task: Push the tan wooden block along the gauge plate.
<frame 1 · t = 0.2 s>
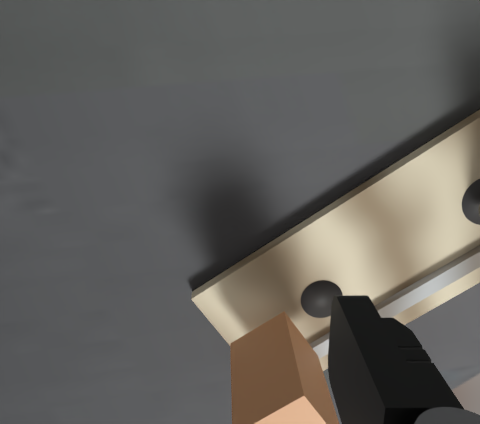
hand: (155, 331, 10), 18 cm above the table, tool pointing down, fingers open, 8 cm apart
gauge plate: (382, 253, 30), on the table
tan wooden block: (279, 378, 26), point 6 cm above the table, slide at 1.0 cm
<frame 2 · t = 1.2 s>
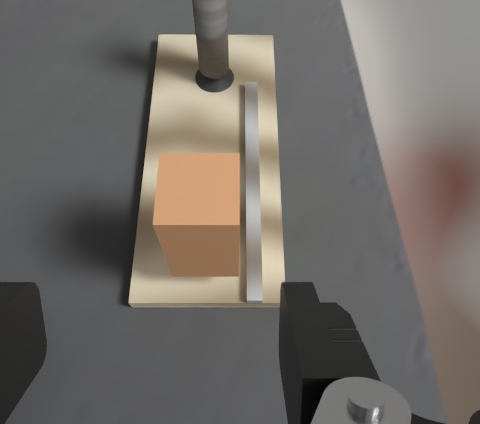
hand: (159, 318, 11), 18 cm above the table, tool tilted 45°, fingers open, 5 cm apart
gauge plate: (212, 154, 35), on the table
tan wooden block: (203, 227, 26), point 6 cm above the table, slide at 1.0 cm
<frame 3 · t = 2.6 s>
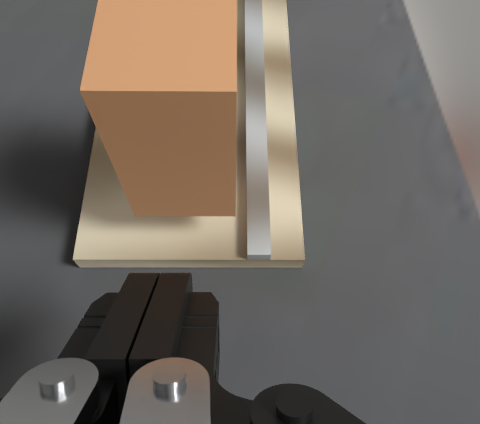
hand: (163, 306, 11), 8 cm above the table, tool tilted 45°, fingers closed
gauge plate: (200, 68, 26), on the table
tan wooden block: (181, 134, 16), point 6 cm above the table, slide at 1.0 cm
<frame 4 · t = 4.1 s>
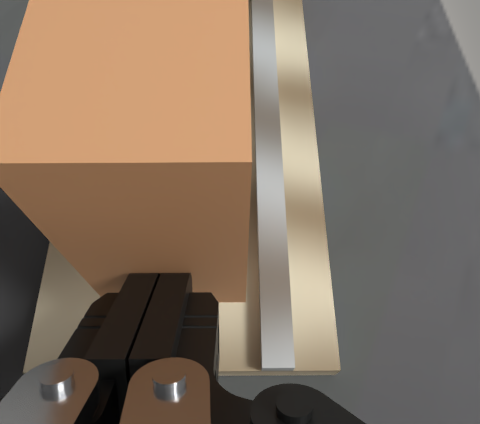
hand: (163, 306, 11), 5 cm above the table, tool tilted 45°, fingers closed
gauge plate: (198, 99, 21), on the table
tan wooden block: (167, 195, 12), point 6 cm above the table, slide at 1.6 cm, touching gripper
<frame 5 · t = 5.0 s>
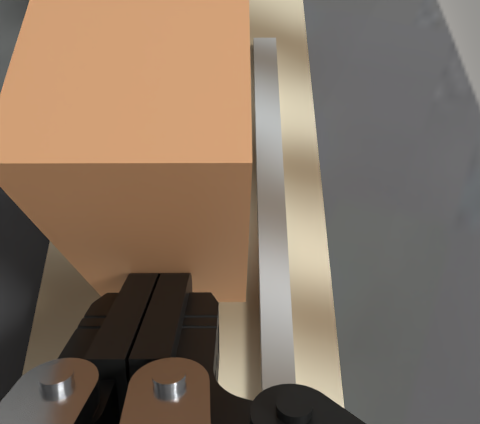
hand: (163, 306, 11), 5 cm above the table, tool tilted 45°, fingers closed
gauge plate: (195, 170, 19), on the table
tan wooden block: (168, 195, 12), point 6 cm above the table, slide at 5.5 cm, touching gripper
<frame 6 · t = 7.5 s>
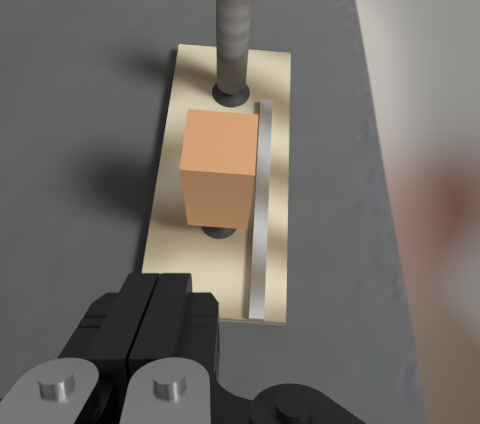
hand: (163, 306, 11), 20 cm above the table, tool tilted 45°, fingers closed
gauge plate: (224, 169, 36), on the table
tan wooden block: (220, 181, 29), point 6 cm above the table, slide at 5.6 cm
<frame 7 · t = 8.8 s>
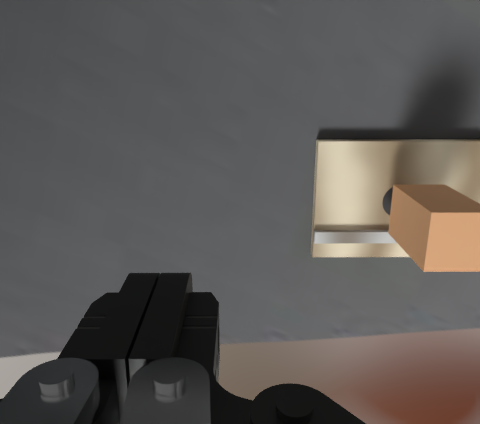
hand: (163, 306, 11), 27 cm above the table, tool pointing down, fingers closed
gauge plate: (453, 198, 39), on the table
tan wooden block: (430, 220, 33), point 6 cm above the table, slide at 5.6 cm
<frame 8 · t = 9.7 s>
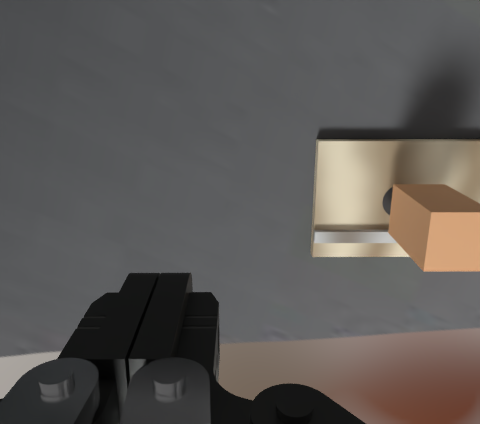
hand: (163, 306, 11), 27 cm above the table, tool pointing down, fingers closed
gauge plate: (453, 197, 39), on the table
tan wooden block: (430, 219, 33), point 6 cm above the table, slide at 5.6 cm
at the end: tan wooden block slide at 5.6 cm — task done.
